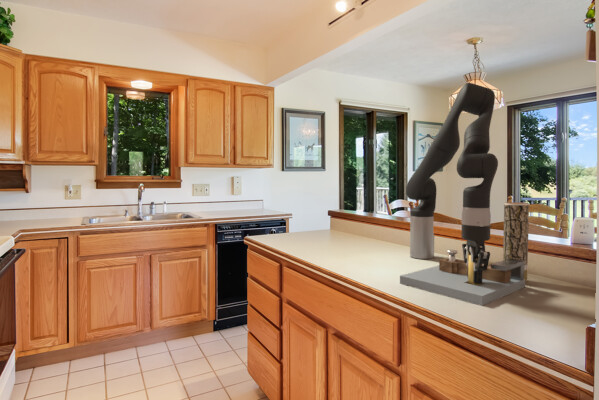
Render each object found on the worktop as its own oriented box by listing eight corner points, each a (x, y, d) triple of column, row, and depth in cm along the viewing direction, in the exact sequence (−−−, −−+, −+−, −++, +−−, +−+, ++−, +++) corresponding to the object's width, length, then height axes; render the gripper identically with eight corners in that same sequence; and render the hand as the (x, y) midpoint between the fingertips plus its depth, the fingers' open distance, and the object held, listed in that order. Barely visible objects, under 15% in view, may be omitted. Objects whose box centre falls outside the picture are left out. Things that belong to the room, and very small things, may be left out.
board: (445, 270, 132) (445, 263, 132) (524, 287, 111) (525, 278, 111) (399, 283, 116) (399, 275, 116) (482, 305, 96) (482, 296, 95)
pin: (472, 283, 110) (472, 253, 110) (484, 286, 107) (484, 255, 107) (465, 285, 108) (466, 255, 107) (477, 288, 105) (478, 257, 104)
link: (438, 270, 122) (438, 260, 122) (448, 267, 126) (448, 257, 126) (502, 284, 106) (503, 272, 105) (512, 280, 109) (512, 268, 109)
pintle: (449, 276, 124) (450, 249, 123) (458, 278, 121) (459, 250, 121) (444, 278, 122) (445, 250, 121) (453, 280, 119) (454, 251, 119)
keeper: (509, 284, 114) (510, 258, 113) (523, 287, 111) (524, 260, 110) (490, 292, 107) (491, 264, 106) (504, 295, 103) (505, 266, 103)
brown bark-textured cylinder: (518, 284, 114) (520, 204, 112) (497, 279, 120) (499, 202, 118) (531, 281, 117) (533, 203, 115) (510, 276, 123) (512, 202, 121)
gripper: (453, 220, 114) (452, 275, 115) (472, 226, 100) (471, 288, 101) (478, 220, 113) (477, 275, 114) (501, 226, 99) (499, 289, 100)
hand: (474, 281), depth 107 cm, fingers closed on pin, 3 cm apart
